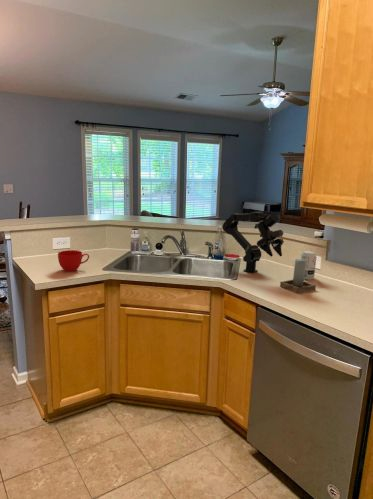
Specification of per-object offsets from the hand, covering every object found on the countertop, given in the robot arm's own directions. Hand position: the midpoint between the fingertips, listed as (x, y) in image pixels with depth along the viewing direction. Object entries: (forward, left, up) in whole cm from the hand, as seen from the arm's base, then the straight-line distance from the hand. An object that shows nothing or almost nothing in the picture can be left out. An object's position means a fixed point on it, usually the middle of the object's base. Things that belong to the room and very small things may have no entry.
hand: (276, 256), depth 199 cm
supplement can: (-16, +12, -14) cm, 24 cm away
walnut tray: (+6, +15, -13) cm, 21 cm away
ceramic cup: (+62, -94, -14) cm, 113 cm away
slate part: (+6, +15, -12) cm, 21 cm away
